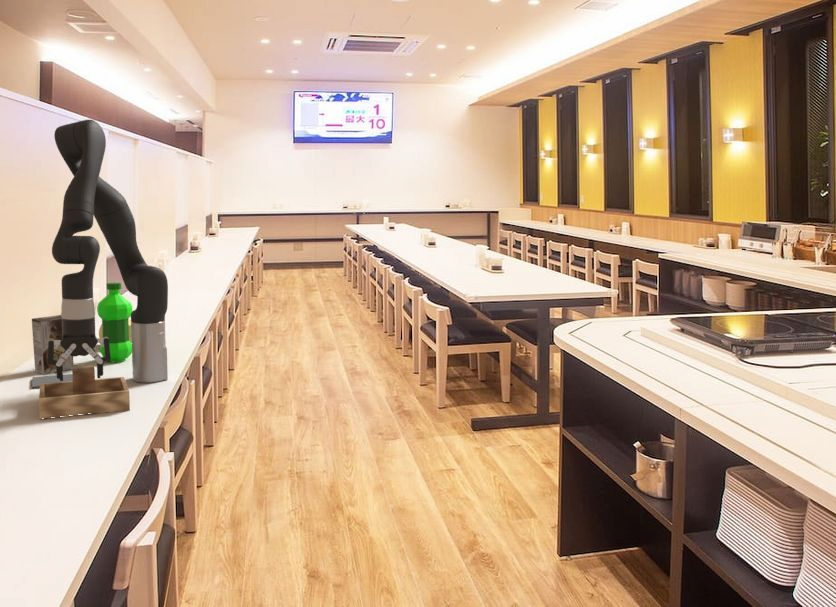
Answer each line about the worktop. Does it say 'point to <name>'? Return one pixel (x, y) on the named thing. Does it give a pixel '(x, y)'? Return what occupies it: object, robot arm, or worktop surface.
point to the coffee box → (41, 335)
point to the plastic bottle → (115, 323)
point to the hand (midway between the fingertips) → (80, 379)
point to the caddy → (83, 398)
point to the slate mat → (49, 380)
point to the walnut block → (83, 380)
